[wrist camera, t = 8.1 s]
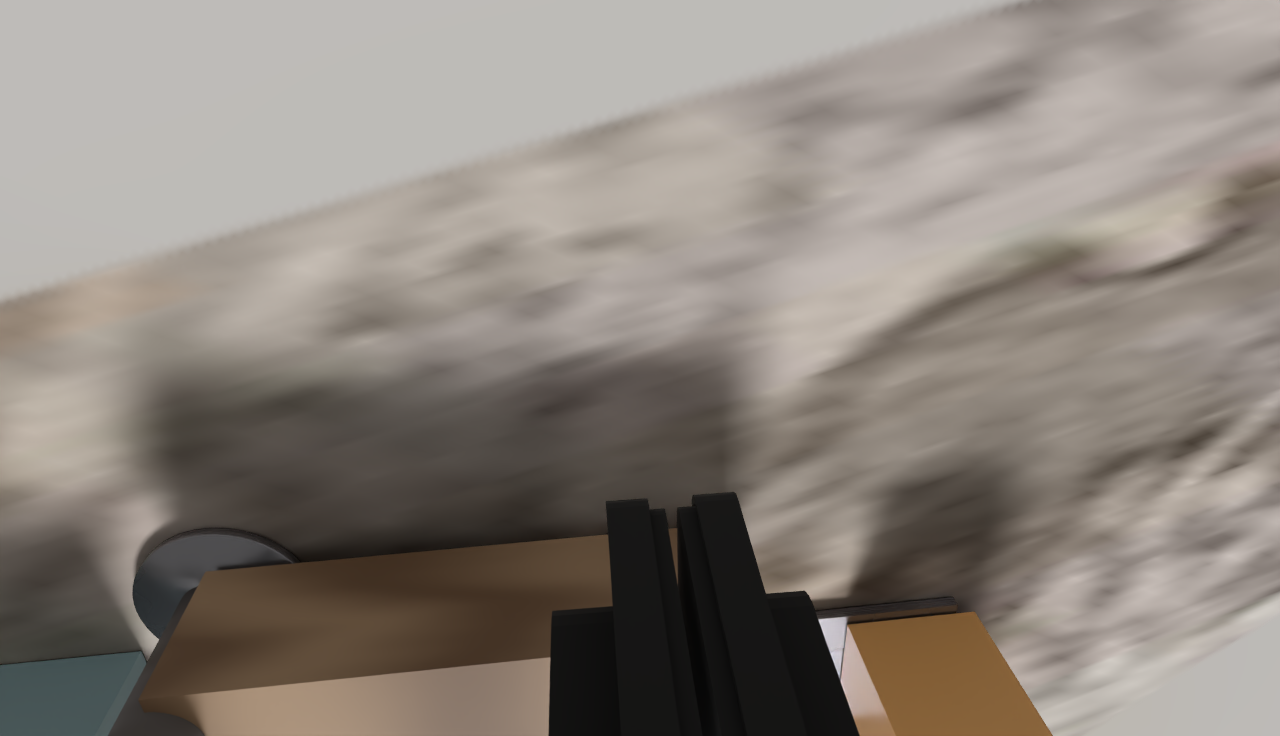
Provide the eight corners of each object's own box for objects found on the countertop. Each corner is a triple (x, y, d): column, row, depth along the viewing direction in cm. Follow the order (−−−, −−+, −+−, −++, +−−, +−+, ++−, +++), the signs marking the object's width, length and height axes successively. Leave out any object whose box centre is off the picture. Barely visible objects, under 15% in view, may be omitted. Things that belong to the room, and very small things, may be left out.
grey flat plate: (599, 735, 23) (600, 744, 23) (590, 634, 21) (591, 642, 21) (932, 698, 24) (936, 706, 24) (952, 597, 22) (958, 604, 22)
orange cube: (836, 713, 23) (888, 852, 20) (847, 624, 22) (905, 758, 18) (954, 700, 24) (1026, 835, 20) (974, 611, 22) (1055, 741, 19)
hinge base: (167, 661, 20) (162, 671, 20) (113, 536, 18) (107, 545, 18) (332, 645, 21) (329, 654, 20) (296, 520, 19) (292, 529, 19)
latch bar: (196, 654, 20) (106, 843, 16) (163, 575, 18) (58, 757, 14) (728, 601, 21) (773, 766, 17) (730, 523, 19) (779, 679, 15)
